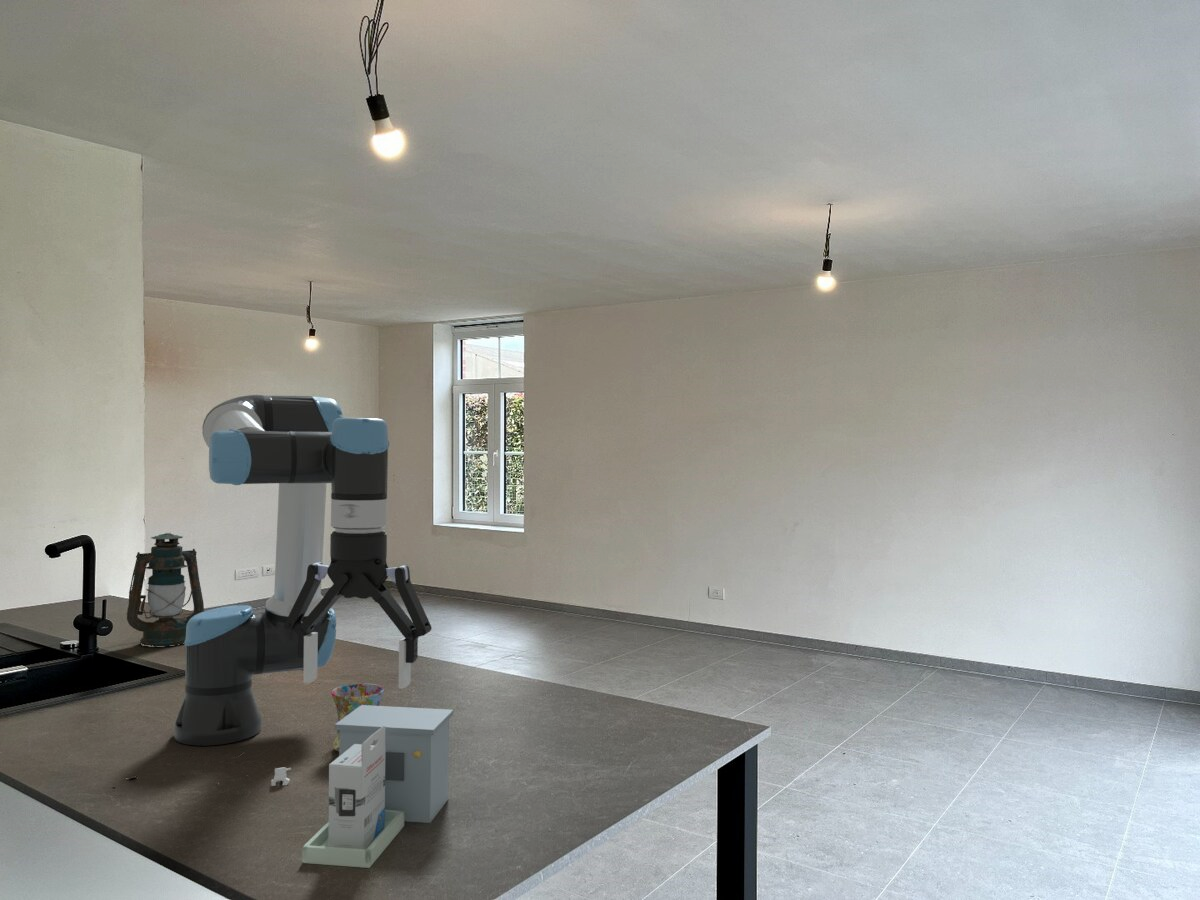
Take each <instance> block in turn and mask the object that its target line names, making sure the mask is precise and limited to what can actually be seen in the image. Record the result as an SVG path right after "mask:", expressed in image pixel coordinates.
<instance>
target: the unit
mask: <svg viewBox="0 0 1200 900" xmlns="http://www.w3.org/2000/svg"><path fill="white" fill-rule="evenodd" d="M453 716H454V709H448V708H446V709H445V708H430V707H429V708H428V707H427V708H423V707H408V706H406V707H405V706H387V705H379V706H371V705H361V706H359V707H358V708H357V709H355V710H354V711H353V712H351V713H350V714H348V715H347V716H346V717H344V718H343V719H342V720H340V721H339V722H338V721H337V722H336V723H335V724H334V730H335V731H338V730H339V751H338V757H339V756H340V755H342V754H343V753H344V752H345V751H347V750H348V749H349V748H350V747H351V746H353V745H354V744H362V743H363V742H364V741H366V740H367V739H368V738H369V737H370V736H371V735H372V734H374V733H375V732H376V731H377V730H379V729H380V728H381V727H382V726H385V747H386V752H385V810H396V811H404V822H409V823H424V824H431V823H432V821H433V820H434V819H435V817H436V816H437V815H438V813H439V812H440V811H441V810H442V808H443V807H444V805H445V804H446V803H447V802H448V800H449V790H450V789H449V788H450V786H449V785H450V782H449V780H450V777H449V776H450V773H449V771H450V767H449V765H450V719H451V718H452V717H453ZM376 744H377V740H374V741H373V743H372V744H371V745H376Z"/></svg>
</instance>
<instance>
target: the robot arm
mask: <svg viewBox="0 0 1200 900" xmlns="http://www.w3.org/2000/svg"><path fill="white" fill-rule="evenodd" d="M201 428H202V437H203V440H204V442H205V444H206V446H207V447H208V471H209V478H210V480H211V482H213V483H216V484H223V485H224V484H225V485H226V484H227V485H233V486H241V485H253V484H254V485H258V484H259V485H260V484H264V485H265V484H267V485H268V484H278V497H277V521H276V524H277V525H276V544H275V545H276V547H275V569H274V570H275V572H274V590H273V591H274V593H273V595H272V596H271V597H269V598H268V599H267V600H266V601H265V606H264V607H265V608H264V612H254V609H253V607H252V606H251V605H248V604H240V605H228V606H227V605H226V606H221V607H217V608H212V609H208V610H204V612H201V613H199V614H197V615H195V616H193V617H192V618H191V619H190V620H189V621H188V623H187V626H186V640H185V642H184V646H185V676H184V677H185V682H184V683H185V684H184V685H185V686H184V692H185V693H184V697H183V701H182V702H181V703H182V704H181V706H180V709H179V712H178V714H177V718H176V721H175V723H174V736H173V738H174V740H175V741H176V742H178V743H179V744H182V745H189V746H218V745H225V744H233V743H236V742H240V741H243V740H244V741H245V740H246V739H250V738H251V737H253V736H256V735H257V734H258V733H260V732H261V730H262V716H261V713H260V710H259V707H258V703H257V701H256V698H255V695H254V692H253V689H252V688H253V676H254V675H263V674H272V673H273V674H275V673H284V672H294V671H302V672H303V682H302V683H303V684H311V683H312V682H314V681H316V680H318V669H319V668H322V667H324V666H325V665H327V664H328V663H329V661H330V660H331V657H332V655H333V652H334V649H335V645H336V644H335V643H336V638H337V629H336V627H337V616H336V611H335V610H334V609H333V608H332V607H333V605H335V603H336V602H337V600H339V599H340V598H341V597H344V599H351V598H358V599H365V600H367V599H369V598H370V597H371V599H373V601H374V602H375V603H377V604H378V605H379V606H380V607H381V608H382V610H383V611H384V612H385V614H386V615H387V617H388V619H390V620H391V622H392V623H393V625H394V626H395V627H396V628H397V629H398V631H399V632H400V633H401V635H402V636H403V638H400V639H399V640H398V689H403V690H404V689H405V688H407V687H408V686H410V684H412V683H411V682H412V681H411V680H412V679H411V678H412V676H411V675H412V670H411V669H412V665H411V664H414V663H415V662H416V661H417V660H418V654H419V653H418V646H419V645H418V644H419V641H418V640H419V637H424V636H425V635H427V634H428V633H430V632H431V631H432V630H433V629H432V625H431V623H430V621H429V618H428V616H427V614H426V612H425V610H424V607H423V605H422V603H421V601H420V599H419V597H418V594H417V592H416V590H415V588H414V586H413V584H412V582H411V573H410V567H409V566H408V565H407V564H404V565H400V566H395V567H389V565H388V564H387V555H388V554H387V553H388V551H387V550H388V547H387V546H388V533H387V532H386V531H385V530H383V529H384V528H386V527H387V526H388V473H389V472H388V466H389V465H388V463H389V461H388V460H389V447H390V441H389V436H388V435H389V434H388V433H389V432H388V430H389V429H388V424H387V422H386V421H385V420H384V419H382V418H371V417H369V418H368V417H367V418H366V417H344V414H343V411H342V408H341V406H340V404H339V403H338V402H337V401H336V400H335V399H333V398H330V397H322V396H314V395H264V394H263V395H262V394H250V395H243V396H237V397H234V398H230V399H227V400H225V401H223V402H220V403H219V404H217V405H215V406H214V407H212V408H211V409H210V410H209V412H208V413H207V414H206V416H205V417H204V419H203V423H202V427H201ZM328 484H330V485H331V495H330V502H331V503H330V527H331V528H333V529H334V531H332V533H331V534H330V546H329V547H330V549H329V550H330V552H329V553H330V554H329V556H330V563H329V565H327V564H323V560H324V558H323V557H324V537H325V536H324V535H325V520H326V519H325V517H326V502H327V500H326V499H327V485H328ZM326 576H328V578H329V579H330V580H331V582H332V585H331V586H330V588H328V590H327V592H326V593H325V594H324V596H323V594H321V593H322V580H324V579H325V578H326ZM388 578H390V579H391V582H392V583H394V584H395V585H396V590H397V591H398V593H399V596H400V598H401V601H402V602H403V604H404V606H405V609H406V611H407V613H408V615H409V616H408V615H407V613H406V612H405V611H404V610H403V608H402V607H401V605H400V604H399V603H398V601H397V600H396V599H395V598H394V597H393V595H392V594H391V593H392V592H391V591H390V589H389V588H388V587H387V585H386V584H385V582H386V580H387V579H388Z"/></svg>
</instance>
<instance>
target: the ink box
mask: <svg viewBox="0 0 1200 900" xmlns="http://www.w3.org/2000/svg"><path fill="white" fill-rule="evenodd" d="M374 740H377V744H376V745H371V744H372V743H373V741H374ZM385 752H386V747H385V726H382V727H381V728H380V729H379V730H377V731H376V732H375V733H374V734H372V735H371V736H370V737H369V738H368V739H367V740H366V741H364V742H363V743H362V744H354V745H353V746H351V747H350V748H349V749H348V750H347V751H345V752H344V753H343V754H342V755H340V756H339V755H338V757H336V758H335V759H334V760H332V761H331V762H330V763H329V764H328V822H329V832H328V834H329V837H328V844H329V845H328V847H340V848H353V849H366V847H367V846H368V845H369V844H370V843H371V842H372V841H373V839H374V838H375V837H376V836H377V835H378V834H379V833H380V831H381V830H382V829H383V828H384V825H385Z"/></svg>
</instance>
